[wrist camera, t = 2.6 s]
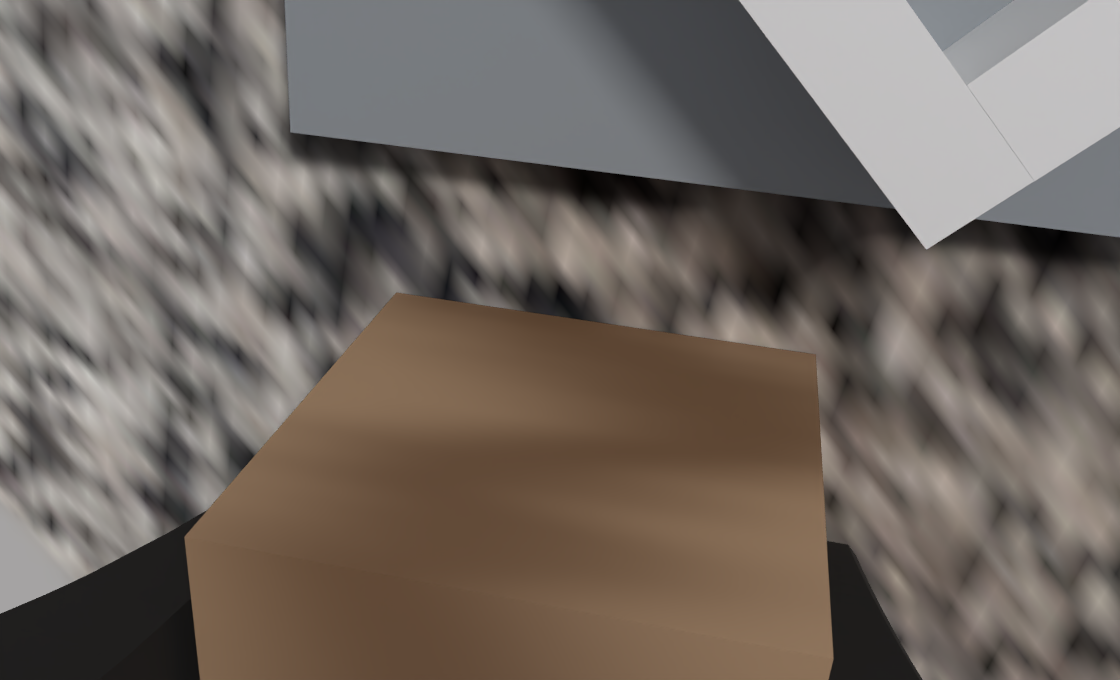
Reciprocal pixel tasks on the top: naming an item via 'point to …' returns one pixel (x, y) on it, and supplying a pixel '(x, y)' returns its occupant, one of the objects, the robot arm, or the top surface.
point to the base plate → (745, 96)
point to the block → (525, 511)
